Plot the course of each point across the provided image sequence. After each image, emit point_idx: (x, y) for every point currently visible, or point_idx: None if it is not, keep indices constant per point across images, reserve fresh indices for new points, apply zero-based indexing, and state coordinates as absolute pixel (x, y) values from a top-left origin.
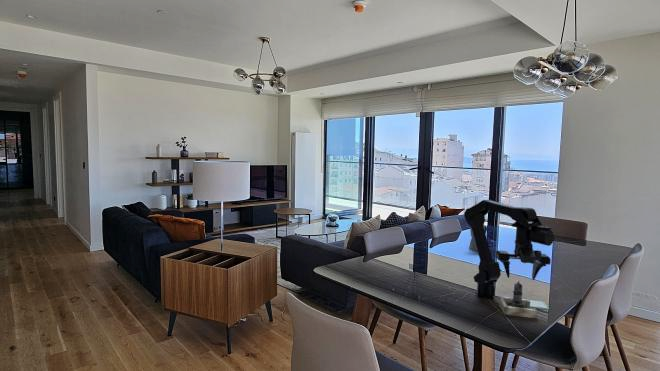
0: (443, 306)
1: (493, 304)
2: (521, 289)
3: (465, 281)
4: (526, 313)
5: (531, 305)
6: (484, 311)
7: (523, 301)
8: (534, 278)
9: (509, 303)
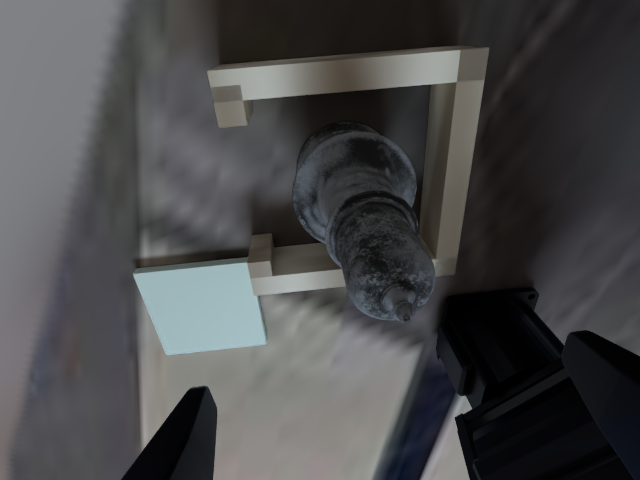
0: None
1: (473, 217)
2: (353, 236)
3: None
4: (296, 61)
5: (237, 276)
6: (594, 50)
7: (302, 222)
8: (180, 407)
9: None
